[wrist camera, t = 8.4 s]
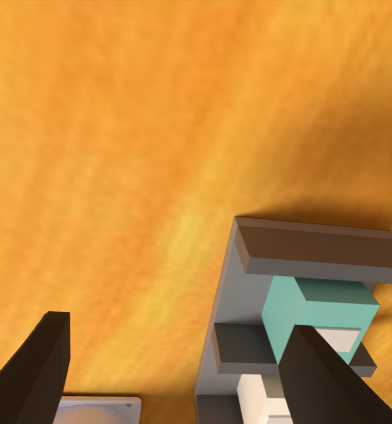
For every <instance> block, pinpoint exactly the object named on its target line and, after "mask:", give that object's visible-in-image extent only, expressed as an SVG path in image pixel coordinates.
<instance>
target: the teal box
mask: <svg viewBox="0 0 392 424" xmlns="http://www.w3.org/2000/svg"><path fill="white" fill-rule="evenodd" d="M379 306H380V304H379V303H378V302H377V301H376V299H375V298H374V297H373V295H372V294H371V293H370V292H369V290H368V289H367V288H366V286H365V285H364V284H363V282H360V281H345V280H331V279H316V278H301V277H286V276H274V277H273V280H272V283H271V286H270V289H269V292H268V295H267V299H266V302H265V305H264V308H263V311H262V314H261V317H262V320H263V323H264V326H265V329H266V332H267V335H268V338H269V341H270V344H271V346H272V349H273V352H274V355H275V358H276V361H277V364H279V362H280V359H281V357H282V354H283V352H284V349H285V347H286V344H287V342H288V339H289V337H290V335H291V332H292V330H293V327H294V325H295V324H296V325H312V326H313V327H314V328H315V329H316V330H317V331H318V332H319V334H320V335H321V336H322V337H323V338H324V339H325V340H326V341H327V342H328V343H329V344H330V346H331V347H332V348H333V349H334V350H335V351H336V352H337V353H338V354H339V355H340V356H341V358H342V359H343V360H344V361H345V362H346V363H347V364H349V363H350V361H351V359H352V357H353V355H354V353H355V351H356V349H357V348H358V346H359V344H360V342H361V340H362V338H363V336H364V334H365V333H366V331H367V329H368V327H369V325H370V323H371V321H372V319H373V318H374V316H375V314H376V312H377V310H378V308H379Z"/></svg>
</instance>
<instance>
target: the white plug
mask: <svg viewBox="0 0 392 424" xmlns="http://www.w3.org/2000/svg"><path fill="white" fill-rule="evenodd" d="M237 393H238V397H239V402H240V407H241V412H242V417H243V422H244V424H293V422H292V419H291V416H290V413H289V410H288V407H287V403H286V400H285V397H284V393H283V388H282V384H281V379H280V375H253V374H242V375H241V378H240V381H239V384H238V387H237Z"/></svg>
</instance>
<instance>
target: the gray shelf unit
mask: <svg viewBox="0 0 392 424" xmlns="http://www.w3.org/2000/svg"><path fill="white" fill-rule="evenodd" d="M274 276H286V277H301V278H316V279H331V280H345V281H360V282H363V284H364V285H365V286H366V288H367V289H368V290H369V292H370V293H371V294H372V292H373V290H374V288H375V286H376V284H377V283H389V284H392V233H391V232H390V231H386V230H375V229H364V228H354V227H343V226H332V225H321V224H311V223H300V222H289V221H279V220H268V219H257V218H246V217H236V216H234V220H233V224H232V228H231V233H230V237H229V241H228V245H227V250H226V254H225V258H224V262H223V267H222V271H221V275H220V280H219V284H218V288H217V292H216V297H215V301H214V305H213V309H212V314H211V318H210V322H209V326H208V331H207V335H206V339H205V344H204V348H203V352H202V356H201V361H200V365H199V369H198V373H197V378H196V382H195V386H194V390H193V392H194V404H195V415H196V424H244V422H243V417H242V412H241V407H240V402H239V397H238V393H237V387H238V384H239V381H240V378H241V375H242V374H253V375H280V374H279V369H278V364H277V361H276V358H275V355H274V352H273V349H272V346H271V344H270V341H269V338H268V335H267V332H266V329H265V326H264V323H263V320H262V317H261V314H262V311H263V308H264V305H265V302H266V299H267V295H268V292H269V289H270V286H271V283H272V280H273V277H274ZM348 365H349V366H350V367H351V368H352V370H353V371H354V372H355V373H356V374H357V375H358V376H359V377H371V376H372V374H373V373H374V371H375V369H376V368H377V366H376V364H375V363H374V361H373V359H372V358H371V356H370V355H369V353H368V352H367V350H366V348H365V347H364V345H363V344H362V342H360V344H359V346H358V348H357V349H356V351H355V353H354V355H353V357H352V359H351V361H350V363H349V364H348Z"/></svg>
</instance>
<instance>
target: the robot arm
mask: <svg viewBox="0 0 392 424" xmlns="http://www.w3.org/2000/svg"><path fill="white" fill-rule="evenodd" d="M69 363H70V312H54V311H48V312H47V313H46V314H45V315H44V316H43V317H42V319H41V320H40V322H39V323H38V324H37V326H36V327H35V329H34V330H33V331H32V332H31V334H30V335H29V336H28V338H27V339H26V340H25V341H24V343H23V344H22V345H21V347H20V348H19V349H18V350H17V351H16V353H15V354H14V355H13V356H12V357H11V359H10V360H9V361H8V362H7V363H6V364H5V366H4V367H3V368H2V369H1V370H0V424H139V419H140V411H141V399H140V398H138V397H91V396H62V394H63V390H64V385H65V381H66V377H67V372H68V367H69ZM278 369H279V374H280V379H281V384H282V388H283V393H284V397H285V400H286V403H287V407H288V410H289V413H290V416H291V419H292V422H293V424H392V409H391V408H390V407H389V406H388V405H387V404H386V403H385V402H384V401H383V400H382V399H381V398H380V397H379V396H378V395H377V394H376V393H375V392H374V391H373V390H372V389H371V388H370V387H369V386H368V385H367V384H366V383H365V382H364V381H363V380H362V379H361V378H360V377H359V376H358V375H357V374H356V373H355V372H354V371H353V370H352V368H351V367H350V366H349V365H348V364H347V363H346V362H345V361H344V360H343V359H342V358H341V356H340V355H339V354H338V353H337V352H336V351H335V350H334V349H333V348H332V347H331V346H330V344H329V343H328V342H327V341H326V340H325V339H324V338H323V337H322V336H321V335H320V334H319V332H318V331H317V330H316V329H315V328H314V327H313V326H312V325H296V324H295V325H294V327H293V330H292V332H291V335H290V337H289V339H288V342H287V344H286V347H285V349H284V352H283V354H282V357H281V359H280V362H279V364H278Z"/></svg>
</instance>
